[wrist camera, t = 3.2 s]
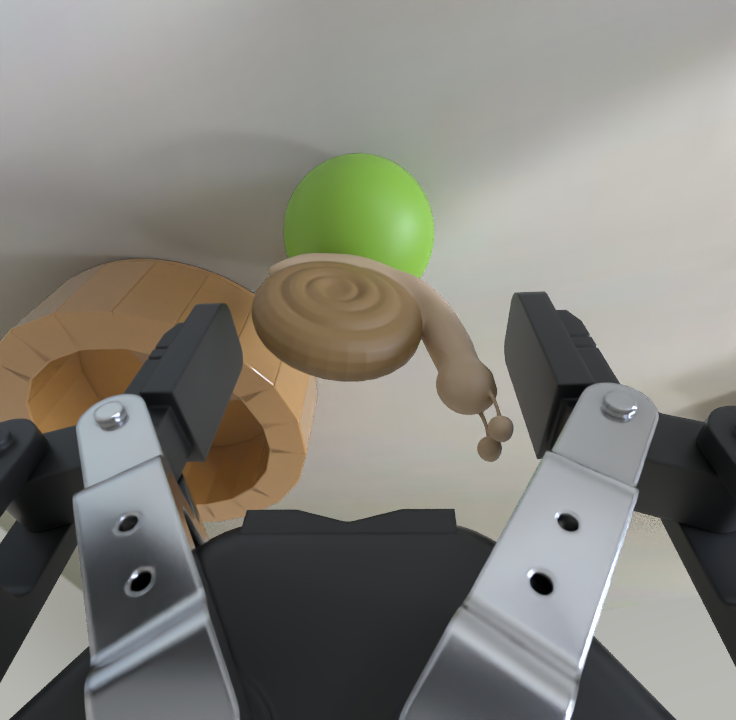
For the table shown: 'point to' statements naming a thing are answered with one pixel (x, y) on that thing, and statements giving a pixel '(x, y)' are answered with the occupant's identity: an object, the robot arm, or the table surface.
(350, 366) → the snail figurine
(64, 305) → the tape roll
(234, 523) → the table surface
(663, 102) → the table surface
